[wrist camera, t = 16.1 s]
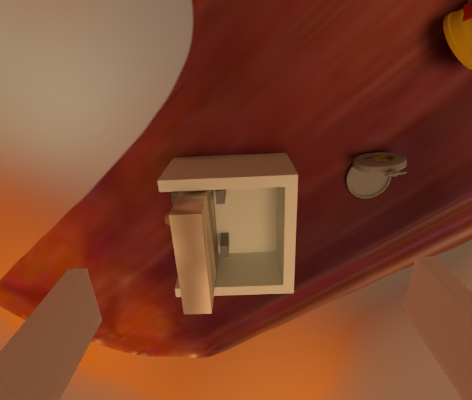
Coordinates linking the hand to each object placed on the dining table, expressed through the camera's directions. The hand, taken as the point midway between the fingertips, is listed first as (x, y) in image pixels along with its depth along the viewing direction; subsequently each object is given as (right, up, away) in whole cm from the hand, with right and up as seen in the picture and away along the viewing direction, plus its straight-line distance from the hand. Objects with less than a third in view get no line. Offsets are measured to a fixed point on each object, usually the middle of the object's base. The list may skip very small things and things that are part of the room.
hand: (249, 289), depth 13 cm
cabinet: (-1, +2, +37) cm, 37 cm away
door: (-6, +1, +36) cm, 36 cm away
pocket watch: (+20, +9, +34) cm, 40 cm away
